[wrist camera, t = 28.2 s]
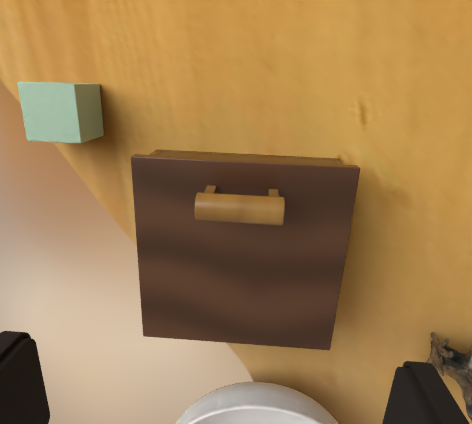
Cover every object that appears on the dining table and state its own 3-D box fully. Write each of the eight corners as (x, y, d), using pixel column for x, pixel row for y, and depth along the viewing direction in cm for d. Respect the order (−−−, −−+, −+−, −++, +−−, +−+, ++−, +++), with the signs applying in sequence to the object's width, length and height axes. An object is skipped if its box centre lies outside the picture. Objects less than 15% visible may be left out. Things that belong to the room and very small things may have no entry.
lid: (134, 153, 26) (103, 171, 21) (357, 165, 25) (382, 186, 20) (145, 330, 32) (124, 377, 27) (328, 344, 31) (341, 395, 26)
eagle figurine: (392, 371, 37) (457, 427, 37) (441, 391, 30) (521, 459, 30) (427, 313, 39) (489, 366, 39) (480, 319, 32) (555, 383, 32)
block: (49, 81, 30) (16, 81, 26) (99, 83, 30) (74, 83, 26) (57, 133, 32) (26, 140, 28) (104, 135, 32) (81, 143, 27)
